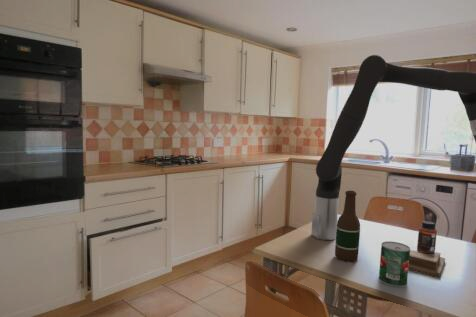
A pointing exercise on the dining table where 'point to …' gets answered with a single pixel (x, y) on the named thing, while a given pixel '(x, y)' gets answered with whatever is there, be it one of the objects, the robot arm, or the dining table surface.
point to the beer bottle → (348, 231)
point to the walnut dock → (426, 263)
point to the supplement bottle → (427, 237)
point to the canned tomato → (394, 264)
